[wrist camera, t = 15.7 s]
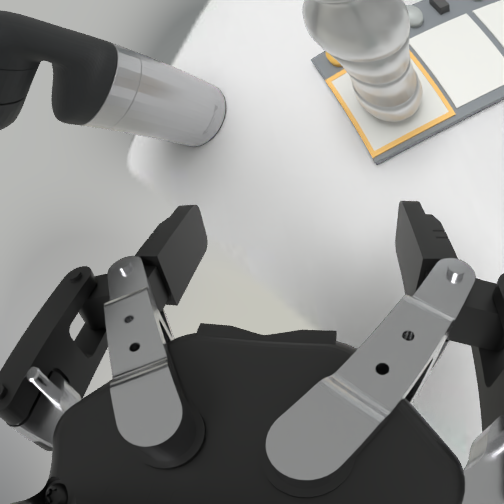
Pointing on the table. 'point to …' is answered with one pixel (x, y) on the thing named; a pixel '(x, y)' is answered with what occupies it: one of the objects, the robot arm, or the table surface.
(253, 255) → the table surface
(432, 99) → the board
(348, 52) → the plastic bottle
